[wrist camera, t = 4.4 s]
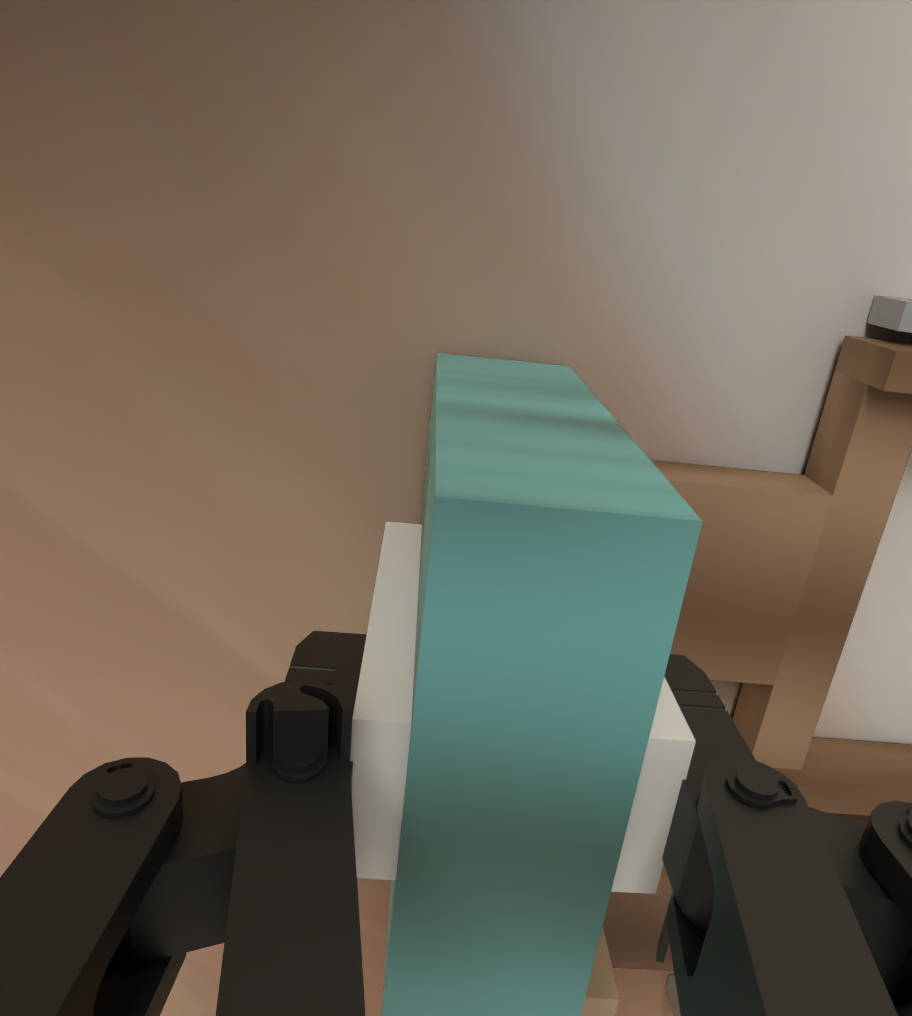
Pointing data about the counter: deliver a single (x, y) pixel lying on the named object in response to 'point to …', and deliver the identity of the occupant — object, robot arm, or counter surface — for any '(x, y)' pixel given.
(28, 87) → the counter surface
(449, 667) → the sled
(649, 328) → the counter surface
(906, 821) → the robot arm
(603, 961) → the sled
